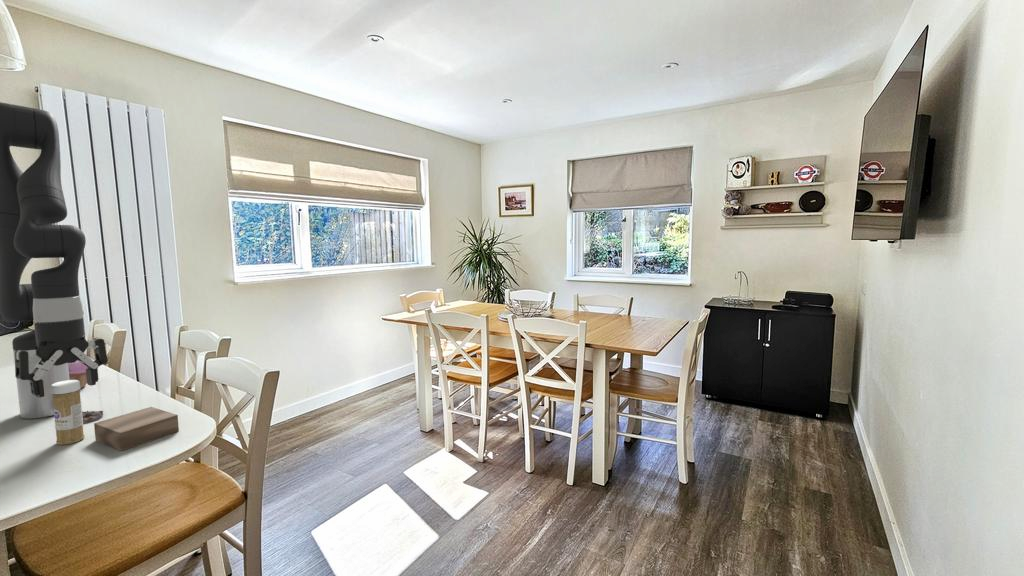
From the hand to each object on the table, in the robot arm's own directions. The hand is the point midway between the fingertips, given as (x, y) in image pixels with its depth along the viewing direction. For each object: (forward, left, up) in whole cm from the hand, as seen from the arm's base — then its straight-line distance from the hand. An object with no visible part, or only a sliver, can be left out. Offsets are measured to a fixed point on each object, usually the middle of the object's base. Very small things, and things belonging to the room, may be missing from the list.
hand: (66, 390), depth 98 cm
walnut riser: (+10, +8, -12) cm, 17 cm away
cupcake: (-43, +17, -12) cm, 48 cm away
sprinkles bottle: (0, 0, -12) cm, 12 cm away
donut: (-12, +7, -12) cm, 19 cm away
